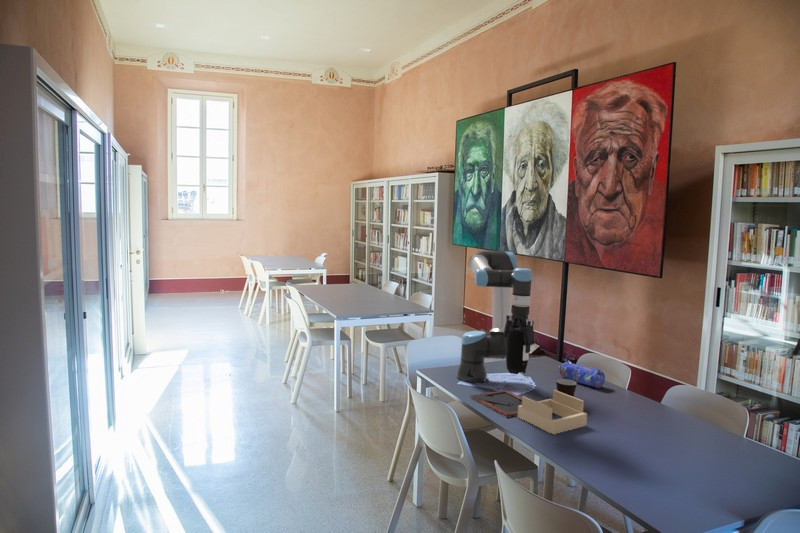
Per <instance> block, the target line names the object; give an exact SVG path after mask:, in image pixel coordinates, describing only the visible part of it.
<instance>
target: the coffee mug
mask: <svg viewBox="0 0 800 533" xmlns="http://www.w3.org/2000/svg"><path fill="white" fill-rule="evenodd" d="M555 384H556V390H557V391H559V392H562V393H564V394H567V395H570V396H572V397H575V394H576V390H577V389H576V388H577V384H578V383H577V382H575V381H572V380H568V379H565V378H559V379H556V381H555Z"/></svg>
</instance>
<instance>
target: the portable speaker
mask: <svg viewBox="0 0 800 533" xmlns="http://www.w3.org/2000/svg"><path fill="white" fill-rule="evenodd" d="M524 327H525V326H524ZM523 330H526V331H527V329H520V327H517V328H513V327H512V326H510V330H509V334H508V338H507V347H506V359H505V362H506V369H507V371H508V373H510V374H513V375H518V374H521V373H523V374H526V371H527V367H528V362H529V360H525V361H523V346H524V344H525V342H524V338H523Z"/></svg>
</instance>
